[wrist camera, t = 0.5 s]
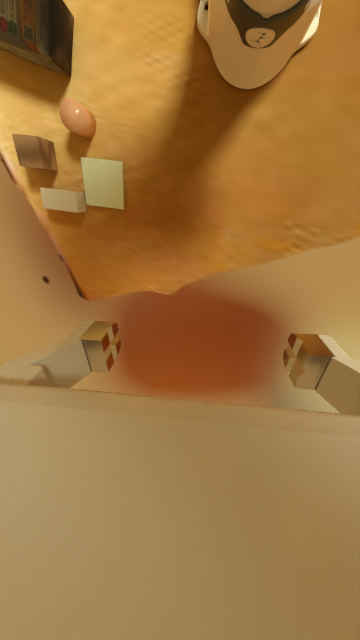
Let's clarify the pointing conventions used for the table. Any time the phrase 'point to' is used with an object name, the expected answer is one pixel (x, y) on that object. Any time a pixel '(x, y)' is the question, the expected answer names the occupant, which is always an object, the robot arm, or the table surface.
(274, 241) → the table surface
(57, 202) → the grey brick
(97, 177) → the green tile
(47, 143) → the walnut cube
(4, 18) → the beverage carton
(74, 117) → the brown egg
